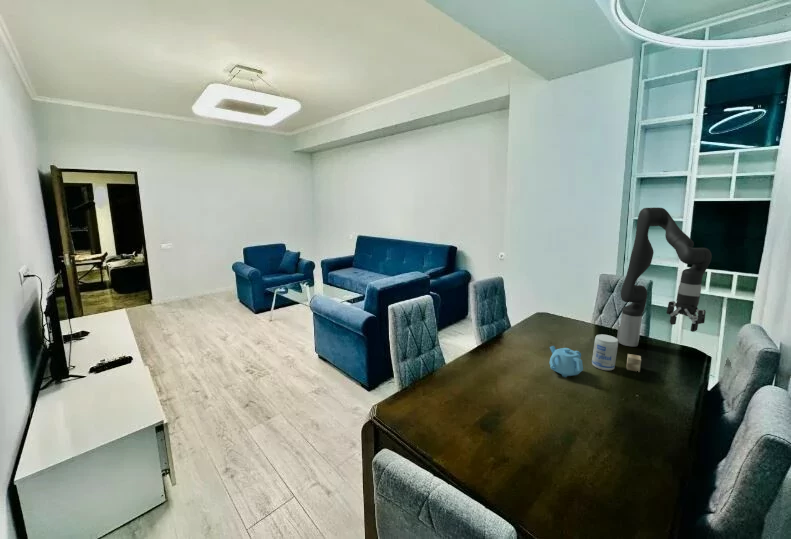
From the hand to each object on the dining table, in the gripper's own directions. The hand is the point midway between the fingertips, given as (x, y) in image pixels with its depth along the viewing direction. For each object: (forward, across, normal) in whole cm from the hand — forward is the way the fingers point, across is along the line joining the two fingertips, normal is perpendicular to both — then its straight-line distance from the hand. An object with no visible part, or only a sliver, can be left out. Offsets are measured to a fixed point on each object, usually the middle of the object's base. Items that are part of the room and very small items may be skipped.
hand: (682, 327), depth 154 cm
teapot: (+23, -16, -47) cm, 55 cm away
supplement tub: (+23, -15, -26) cm, 37 cm away
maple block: (+23, -9, -14) cm, 28 cm away
